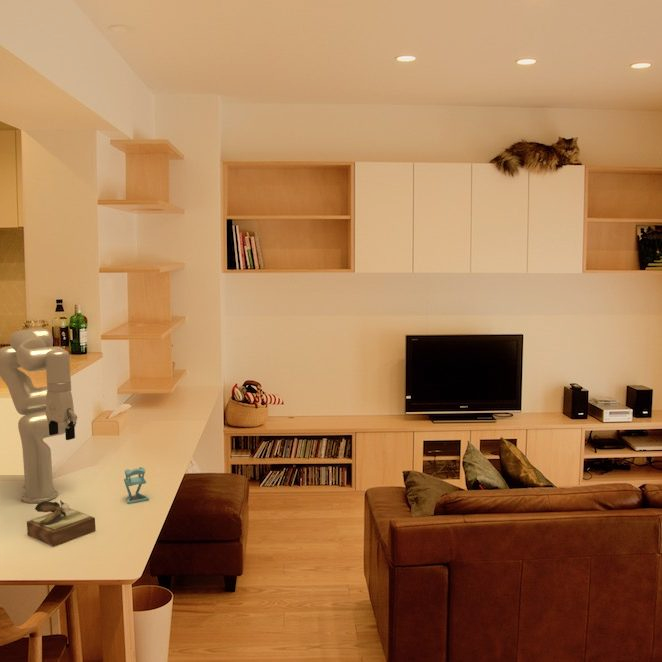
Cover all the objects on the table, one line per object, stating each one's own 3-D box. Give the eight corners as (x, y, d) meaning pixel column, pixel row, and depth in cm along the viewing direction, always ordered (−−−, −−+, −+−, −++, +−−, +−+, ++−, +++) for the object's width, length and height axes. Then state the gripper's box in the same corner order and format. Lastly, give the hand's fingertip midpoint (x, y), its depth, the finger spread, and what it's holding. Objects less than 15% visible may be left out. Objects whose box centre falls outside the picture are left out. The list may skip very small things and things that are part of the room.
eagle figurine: (55, 509, 243) (31, 512, 236) (64, 493, 241) (40, 496, 234) (66, 526, 239) (41, 530, 232) (75, 510, 237) (50, 513, 230)
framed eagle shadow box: (27, 534, 238) (26, 520, 237) (68, 520, 249) (68, 506, 249) (53, 546, 228) (53, 531, 228) (95, 530, 240) (94, 516, 240)
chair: (143, 493, 275) (142, 462, 273) (149, 500, 267) (147, 468, 266) (122, 497, 271) (120, 465, 270) (127, 504, 264) (126, 471, 262)
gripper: (34, 385, 249) (37, 435, 251) (64, 392, 238) (66, 443, 241) (54, 382, 255) (57, 430, 257) (84, 388, 244) (86, 438, 247)
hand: (62, 436), depth 249 cm, fingers open, 9 cm apart
